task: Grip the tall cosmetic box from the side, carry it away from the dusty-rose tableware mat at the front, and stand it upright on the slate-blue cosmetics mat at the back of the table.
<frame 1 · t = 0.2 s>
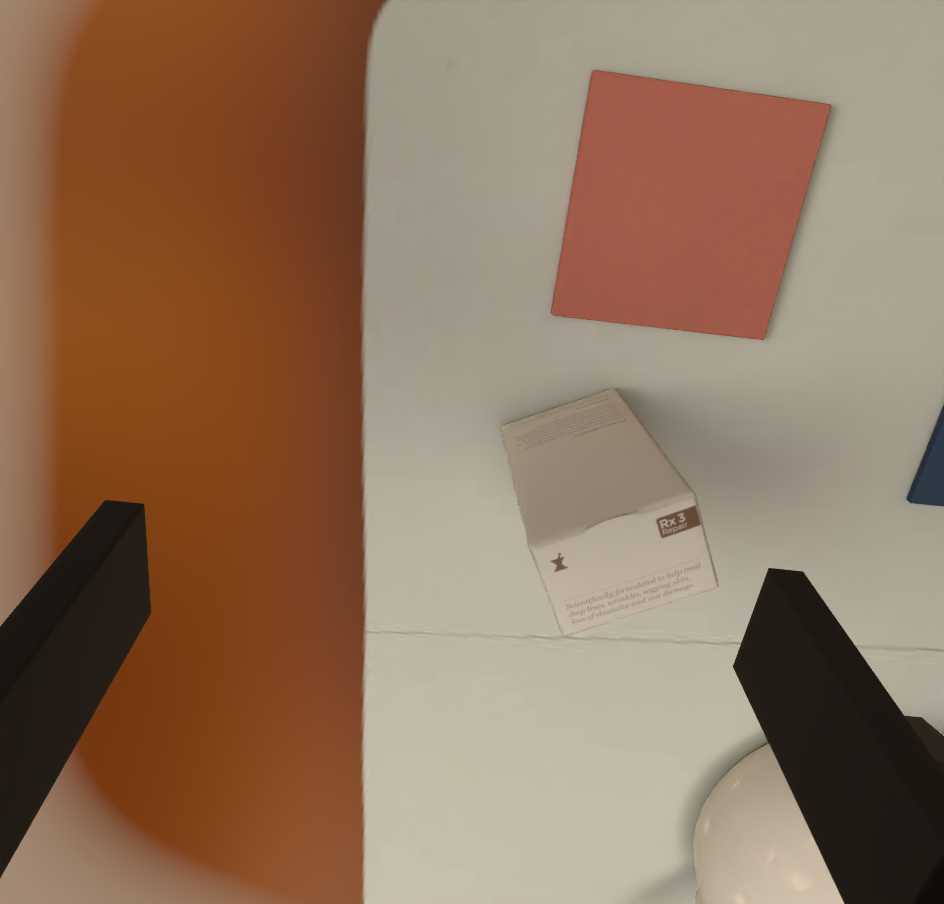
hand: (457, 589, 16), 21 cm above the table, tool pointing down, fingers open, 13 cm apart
rose mat: (682, 213, 33), on the table
cosmetic box: (569, 436, 38), on the table
teapot: (810, 812, 49), on the table
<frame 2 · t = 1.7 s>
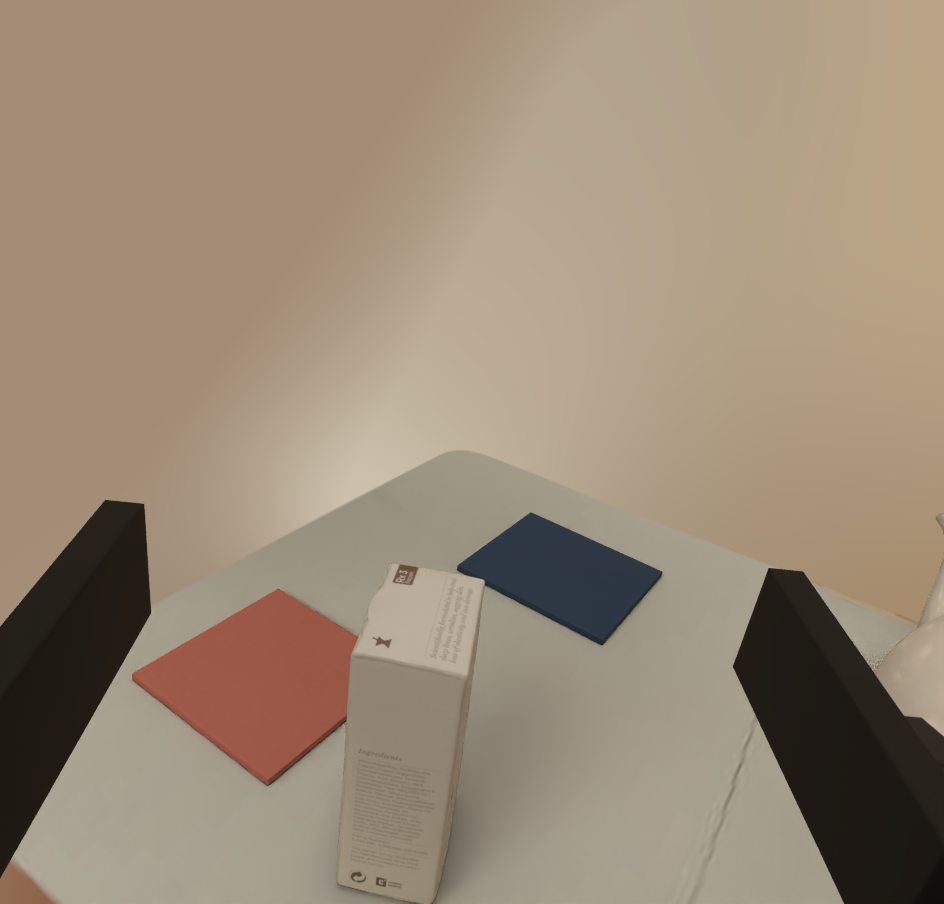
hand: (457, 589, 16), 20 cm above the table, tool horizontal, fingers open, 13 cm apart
rose mat: (273, 675, 41), on the table
cosmetic box: (397, 835, 34), on the table
blue mat: (561, 573, 53), on the table
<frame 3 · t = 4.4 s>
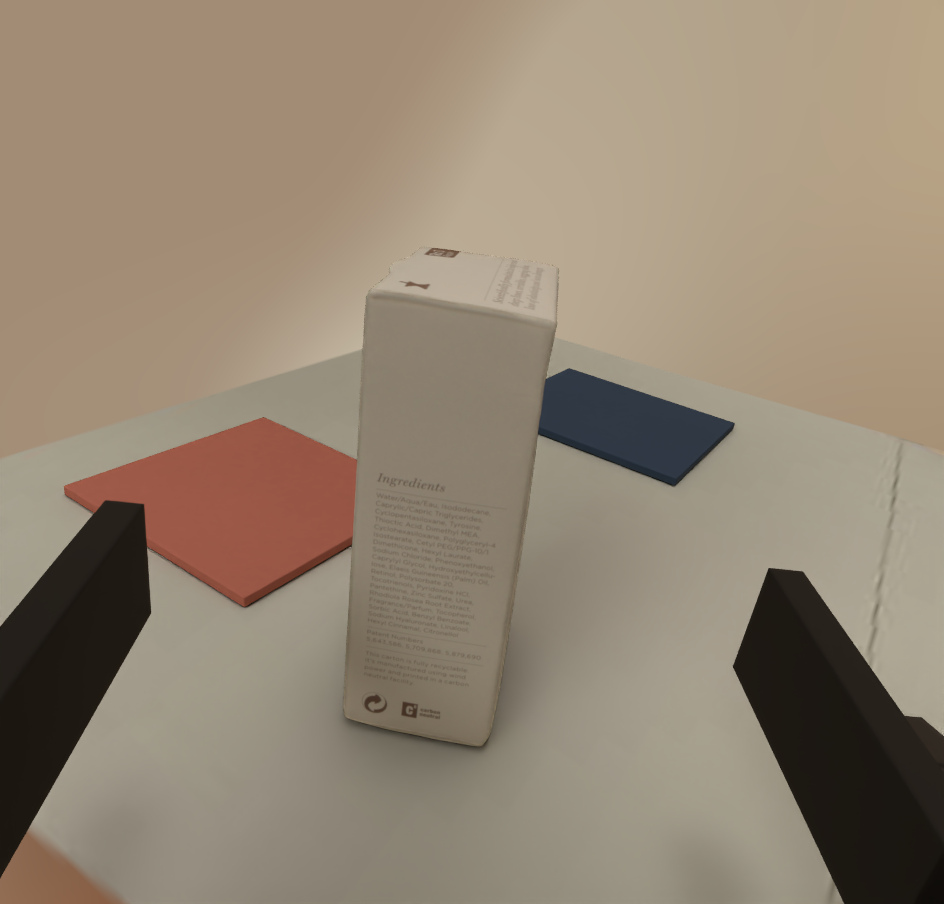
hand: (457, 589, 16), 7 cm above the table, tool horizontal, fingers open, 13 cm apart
rose mat: (255, 497, 31), on the table
cosmetic box: (428, 667, 24), on the table
blue mat: (613, 421, 43), on the table
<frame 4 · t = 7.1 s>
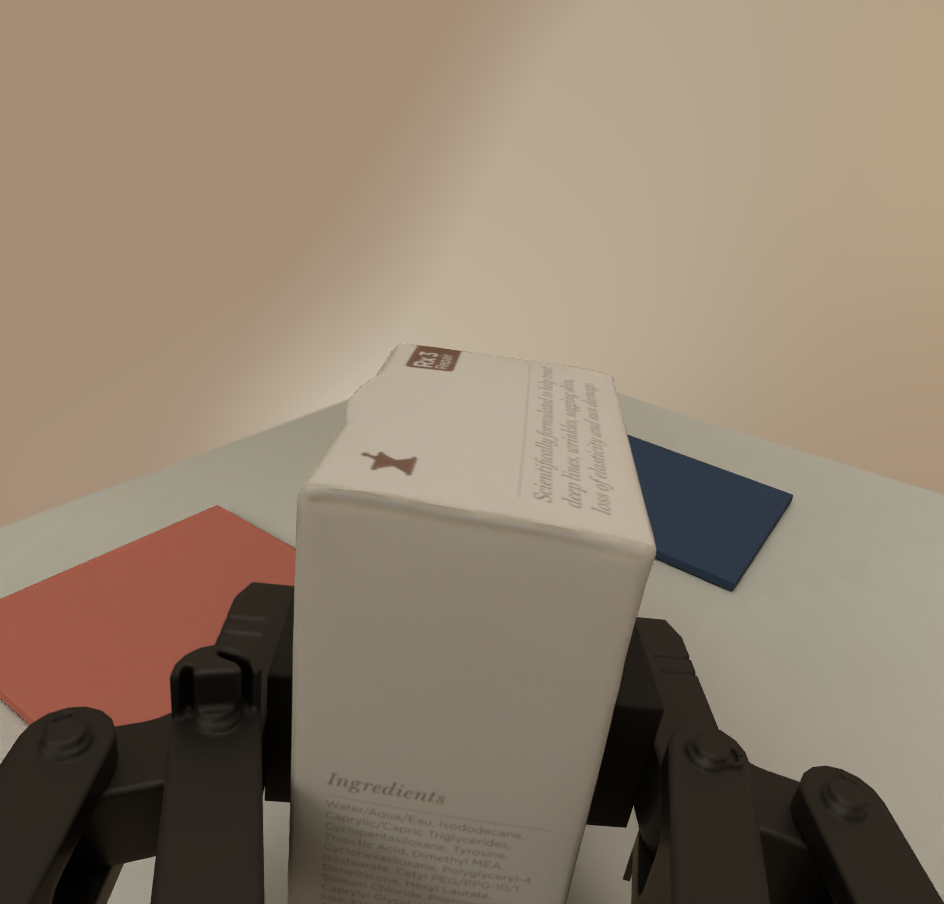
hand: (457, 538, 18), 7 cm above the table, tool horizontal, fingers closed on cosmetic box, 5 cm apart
rose mat: (194, 633, 23), on the table
blue mat: (648, 495, 36), on the table
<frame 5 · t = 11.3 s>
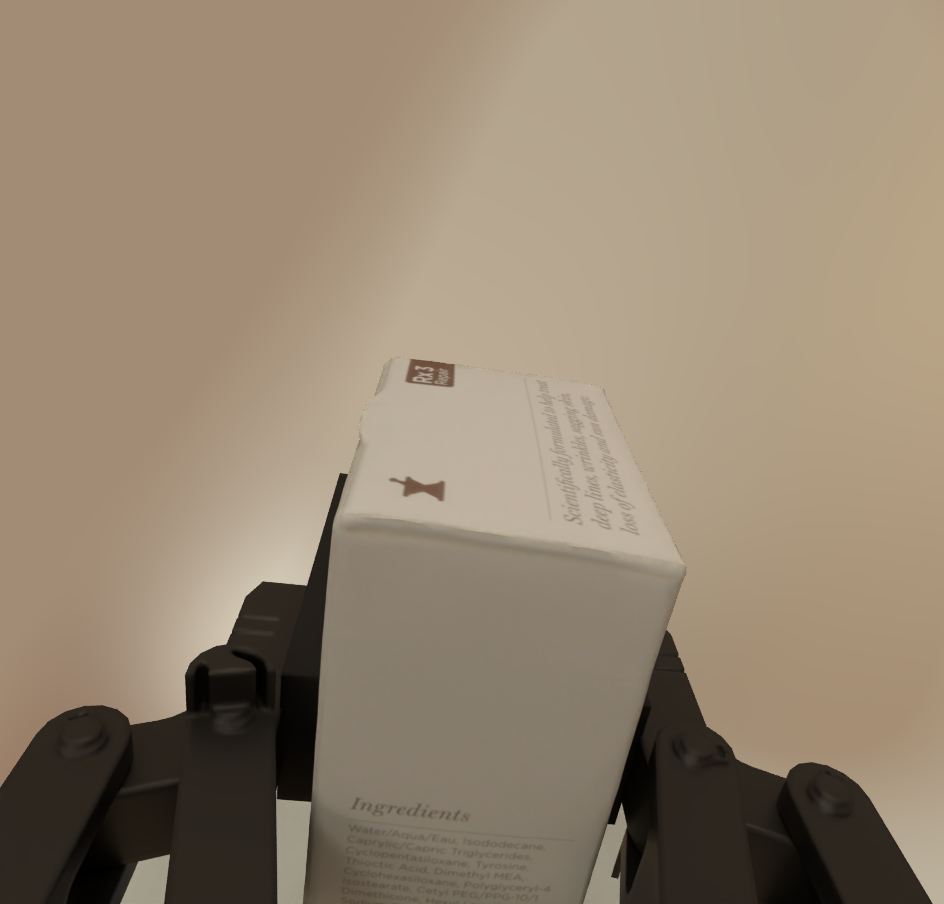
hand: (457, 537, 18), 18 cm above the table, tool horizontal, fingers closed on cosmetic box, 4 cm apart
when the fingers open (7 cm above the table, at t = 15.2 s): cosmetic box stays where it is, resting on blue mat.
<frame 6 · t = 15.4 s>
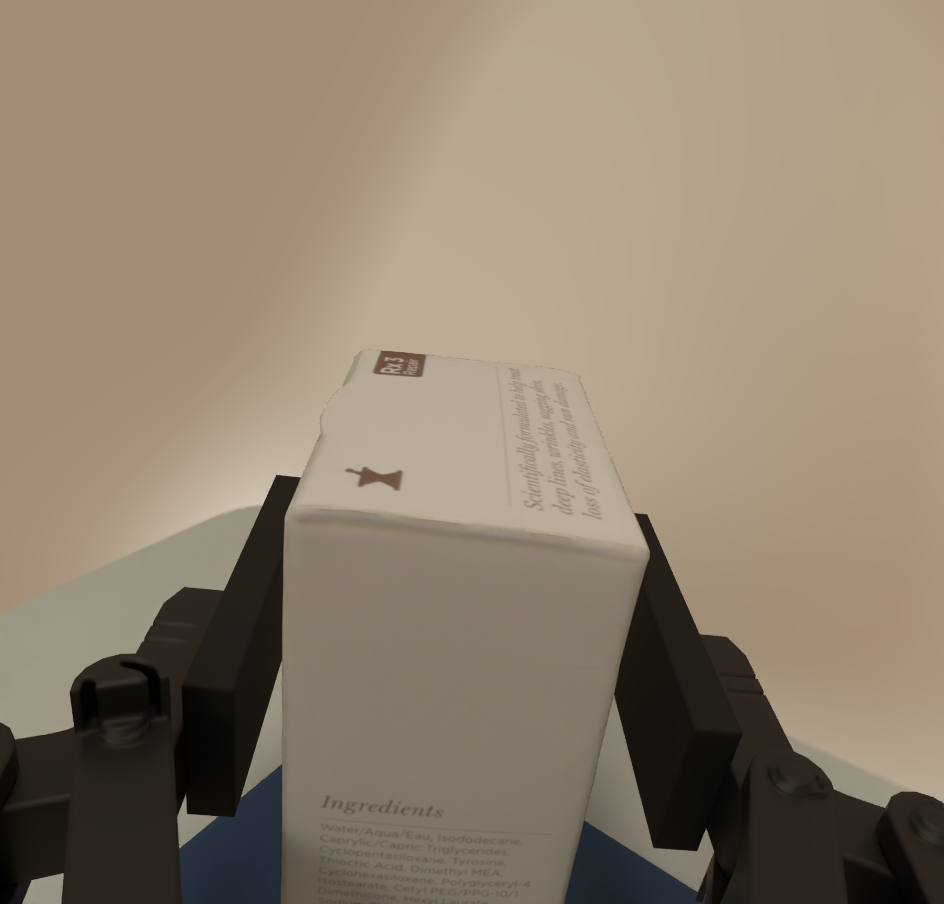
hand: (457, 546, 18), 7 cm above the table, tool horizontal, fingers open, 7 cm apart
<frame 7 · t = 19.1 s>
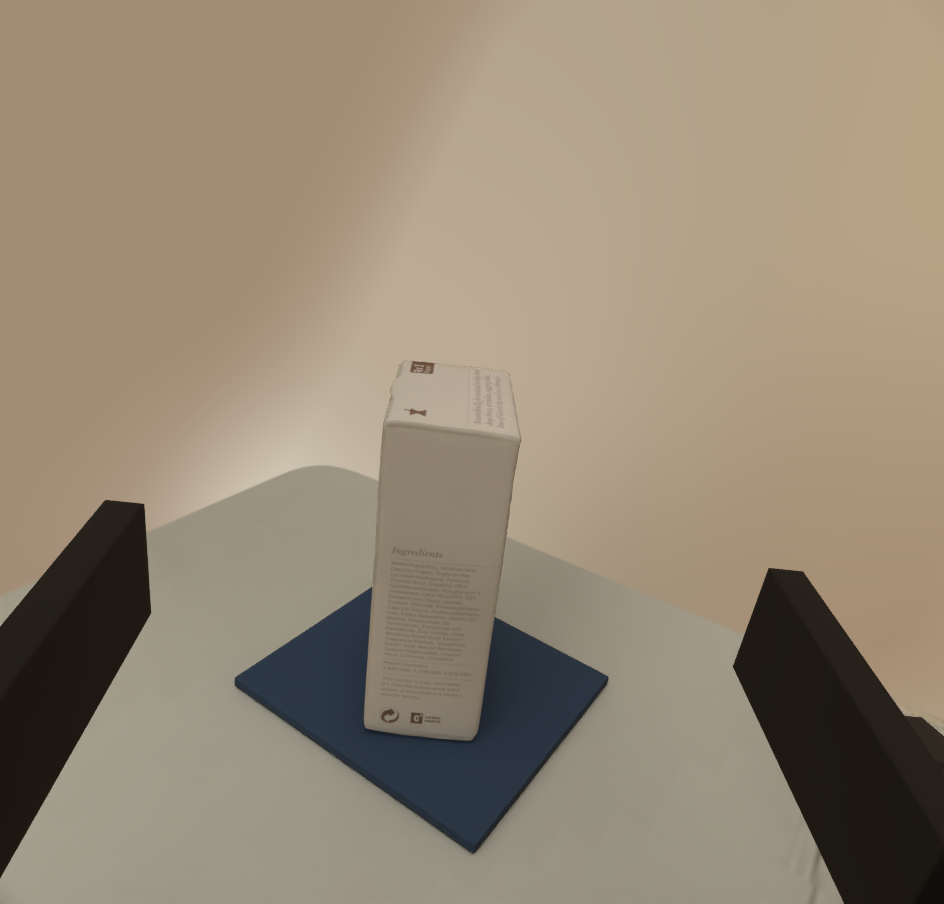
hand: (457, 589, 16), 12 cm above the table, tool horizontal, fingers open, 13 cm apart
cosmetic box: (421, 682, 30), resting on blue mat
blue mat: (429, 684, 30), on the table
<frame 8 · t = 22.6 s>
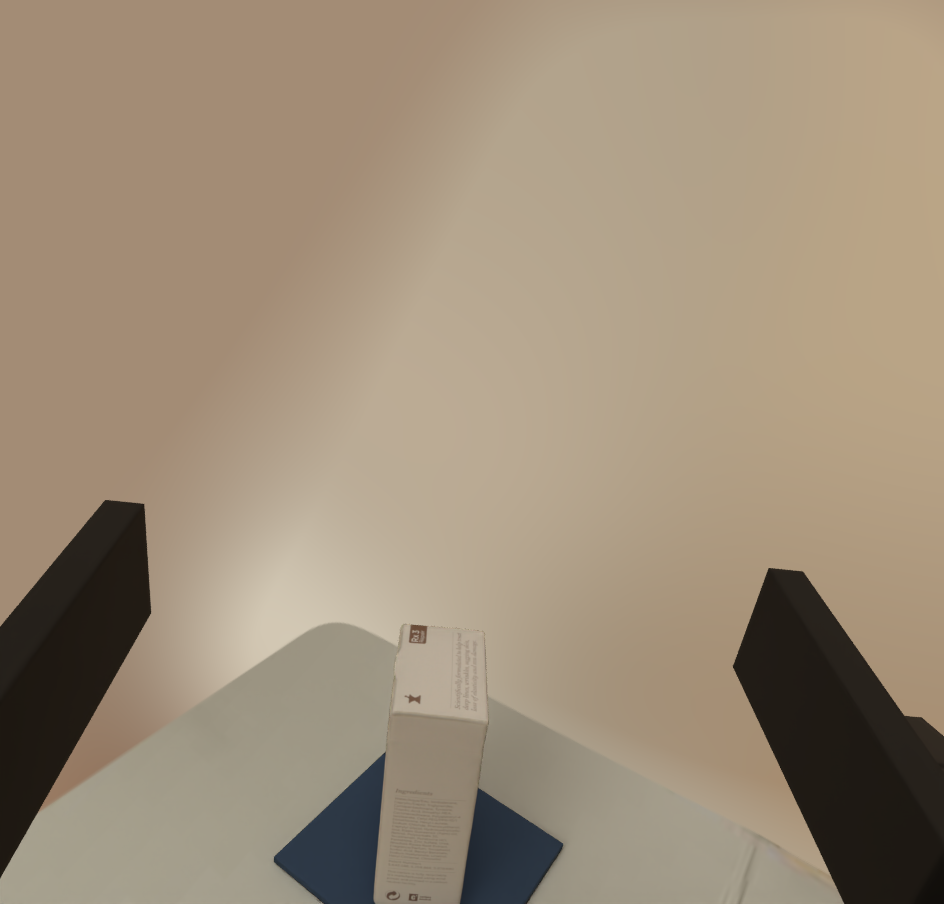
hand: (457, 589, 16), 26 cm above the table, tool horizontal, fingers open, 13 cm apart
cosmetic box: (416, 854, 39), resting on blue mat
blue mat: (423, 855, 39), on the table
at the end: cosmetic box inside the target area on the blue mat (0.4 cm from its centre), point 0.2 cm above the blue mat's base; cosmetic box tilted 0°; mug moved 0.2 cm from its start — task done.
